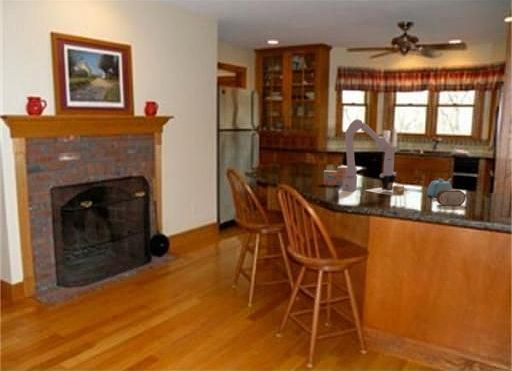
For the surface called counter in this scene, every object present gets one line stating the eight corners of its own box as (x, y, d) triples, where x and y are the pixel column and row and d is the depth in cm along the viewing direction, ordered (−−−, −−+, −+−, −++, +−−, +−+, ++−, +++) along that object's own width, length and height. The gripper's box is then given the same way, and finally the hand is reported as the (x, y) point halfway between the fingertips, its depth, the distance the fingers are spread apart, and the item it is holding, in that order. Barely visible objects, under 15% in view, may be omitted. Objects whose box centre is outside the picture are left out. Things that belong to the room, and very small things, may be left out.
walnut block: (392, 189, 269) (392, 182, 268) (388, 190, 266) (388, 183, 265) (386, 188, 272) (386, 181, 272) (381, 189, 270) (382, 182, 269)
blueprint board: (410, 193, 266) (410, 192, 266) (395, 196, 256) (395, 195, 256) (379, 188, 283) (379, 187, 283) (364, 191, 273) (364, 190, 273)
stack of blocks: (322, 185, 294) (323, 166, 292) (323, 183, 300) (324, 165, 298) (355, 186, 289) (356, 168, 287) (355, 185, 295) (356, 167, 293)
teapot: (460, 179, 256) (443, 181, 246) (459, 197, 258) (441, 200, 248) (441, 176, 266) (423, 178, 256) (439, 193, 268) (421, 196, 258)
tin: (462, 204, 237) (464, 189, 236) (465, 206, 234) (467, 190, 233) (435, 204, 237) (436, 189, 235) (437, 205, 234) (439, 190, 232)
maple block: (403, 193, 263) (404, 186, 262) (399, 194, 260) (399, 187, 259) (397, 192, 267) (397, 185, 266) (392, 193, 264) (393, 186, 263)
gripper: (387, 167, 259) (386, 190, 261) (401, 165, 268) (399, 187, 270) (377, 166, 264) (376, 188, 267) (391, 164, 273) (390, 186, 276)
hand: (387, 188), depth 269 cm, fingers closed on walnut block, 4 cm apart
